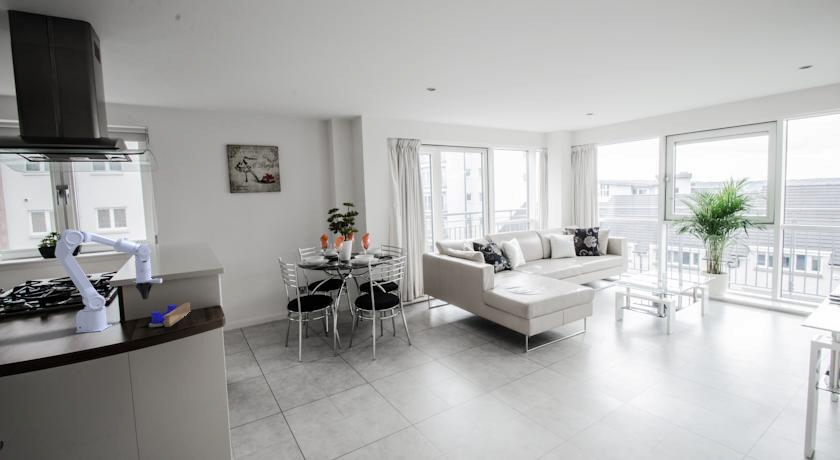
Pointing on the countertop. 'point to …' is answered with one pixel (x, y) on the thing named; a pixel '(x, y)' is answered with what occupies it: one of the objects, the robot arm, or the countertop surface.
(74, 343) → the countertop surface
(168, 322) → the backboard
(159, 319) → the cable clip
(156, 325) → the mounting rail
